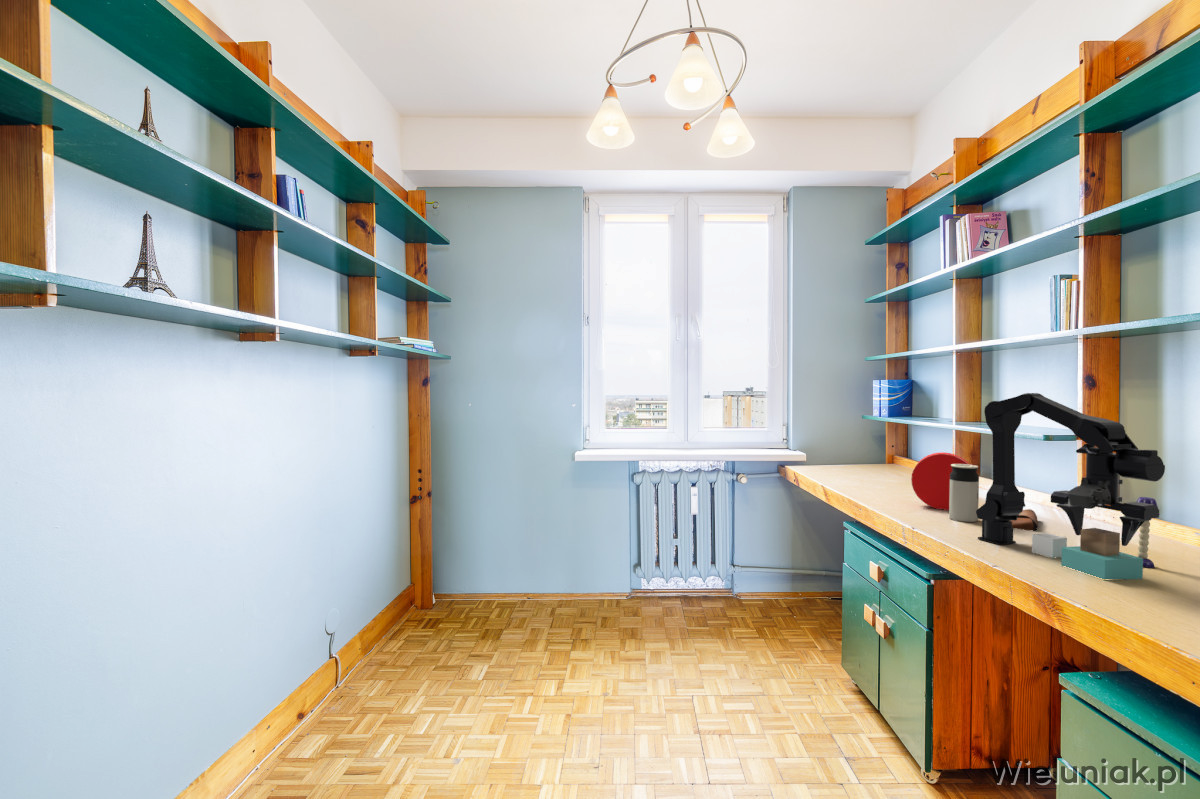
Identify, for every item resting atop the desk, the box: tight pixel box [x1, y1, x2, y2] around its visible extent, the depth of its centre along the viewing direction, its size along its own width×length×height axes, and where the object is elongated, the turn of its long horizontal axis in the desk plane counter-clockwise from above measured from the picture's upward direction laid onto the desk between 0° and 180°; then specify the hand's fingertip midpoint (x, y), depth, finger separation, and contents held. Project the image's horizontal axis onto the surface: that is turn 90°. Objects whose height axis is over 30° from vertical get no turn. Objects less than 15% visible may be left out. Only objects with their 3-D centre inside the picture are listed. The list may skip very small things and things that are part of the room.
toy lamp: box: [1136, 496, 1160, 569], centre depth 133 cm, size 5×5×17 cm
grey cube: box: [1031, 532, 1068, 559], centre depth 141 cm, size 5×5×5 cm
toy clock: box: [910, 452, 971, 511], centre depth 196 cm, size 20×6×20 cm, turn 56°
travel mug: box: [948, 464, 980, 523], centre depth 179 cm, size 8×8×18 cm
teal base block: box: [1060, 545, 1144, 580], centre depth 128 cm, size 10×10×5 cm
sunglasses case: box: [1011, 508, 1039, 532], centre depth 174 cm, size 18×7×7 cm
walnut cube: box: [1079, 527, 1121, 556], centre depth 128 cm, size 5×5×5 cm
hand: (1100, 540), depth 128 cm, fingers open, 9 cm apart
